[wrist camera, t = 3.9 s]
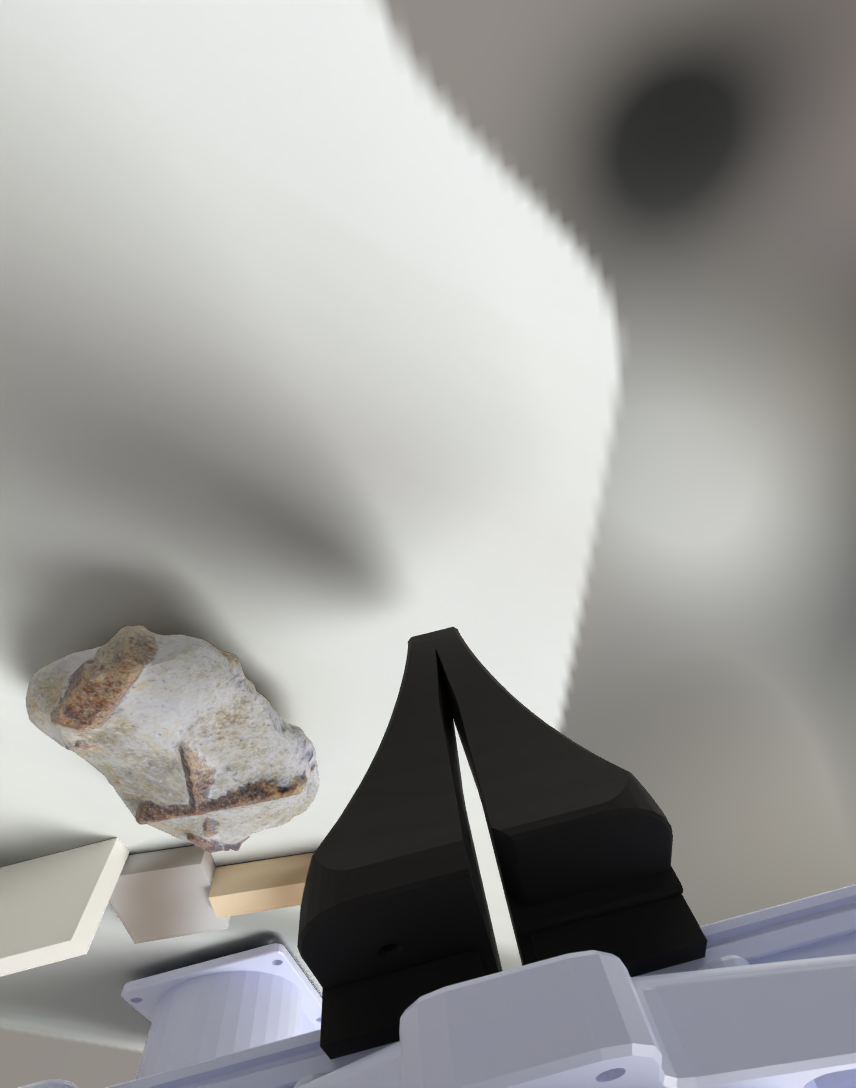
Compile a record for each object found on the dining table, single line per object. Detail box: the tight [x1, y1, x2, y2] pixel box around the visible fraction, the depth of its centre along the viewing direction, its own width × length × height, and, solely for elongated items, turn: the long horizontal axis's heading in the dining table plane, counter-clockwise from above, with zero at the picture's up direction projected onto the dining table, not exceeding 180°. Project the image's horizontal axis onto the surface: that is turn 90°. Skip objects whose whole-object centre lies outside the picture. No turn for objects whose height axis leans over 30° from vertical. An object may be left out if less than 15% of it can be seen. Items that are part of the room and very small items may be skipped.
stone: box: [26, 625, 319, 853], centre depth 15 cm, size 10×7×3 cm
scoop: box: [109, 846, 314, 944], centre depth 21 cm, size 12×5×1 cm, turn 92°
